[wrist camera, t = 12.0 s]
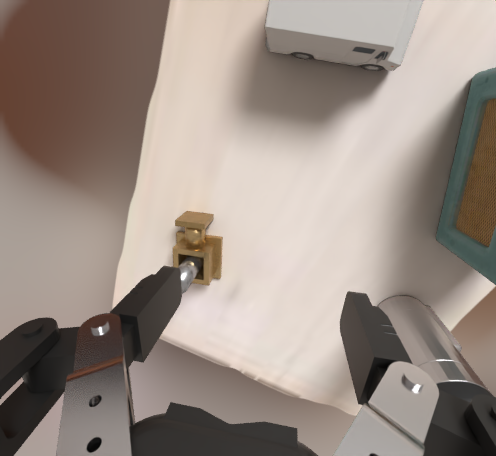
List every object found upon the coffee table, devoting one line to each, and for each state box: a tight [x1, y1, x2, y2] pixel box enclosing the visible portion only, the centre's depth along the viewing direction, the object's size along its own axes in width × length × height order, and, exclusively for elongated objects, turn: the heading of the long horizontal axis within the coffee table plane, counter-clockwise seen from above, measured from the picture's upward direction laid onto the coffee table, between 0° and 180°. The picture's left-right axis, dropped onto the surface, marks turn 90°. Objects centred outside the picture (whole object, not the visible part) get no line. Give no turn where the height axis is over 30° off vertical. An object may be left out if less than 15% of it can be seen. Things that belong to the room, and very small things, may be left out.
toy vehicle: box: [265, 0, 424, 71], centre depth 29 cm, size 9×18×10 cm, turn 80°
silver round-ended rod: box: [178, 255, 204, 293], centre depth 45 cm, size 3×3×10 cm
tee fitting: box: [173, 211, 223, 285], centre depth 47 cm, size 9×13×5 cm
